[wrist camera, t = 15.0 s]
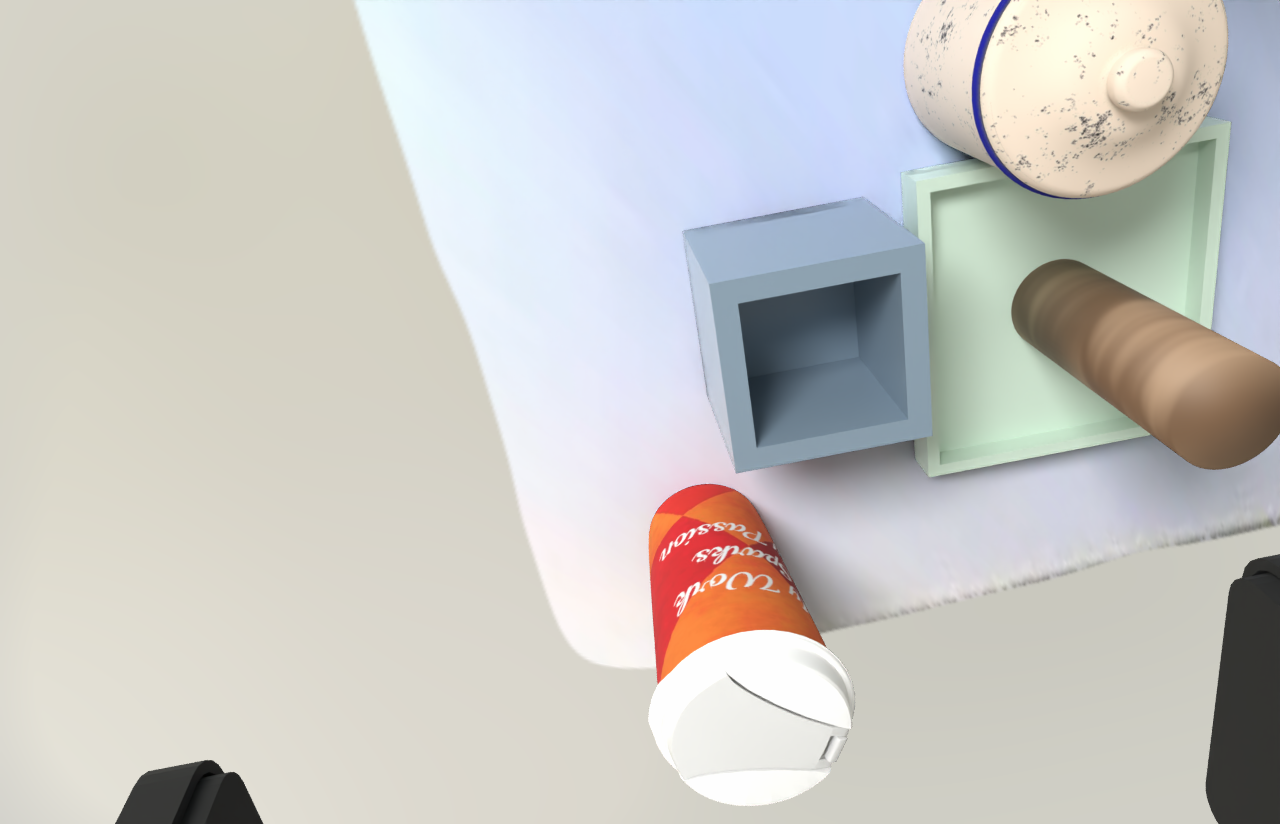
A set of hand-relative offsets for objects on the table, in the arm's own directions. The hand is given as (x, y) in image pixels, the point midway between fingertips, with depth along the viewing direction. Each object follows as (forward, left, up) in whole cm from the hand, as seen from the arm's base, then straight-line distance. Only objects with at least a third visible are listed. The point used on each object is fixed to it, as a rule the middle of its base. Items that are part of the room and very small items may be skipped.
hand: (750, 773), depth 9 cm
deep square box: (+9, +8, -36) cm, 38 cm away
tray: (+12, +21, -36) cm, 43 cm away
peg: (+12, +20, -36) cm, 43 cm away
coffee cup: (+21, +2, -36) cm, 42 cm away
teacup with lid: (-2, +18, -36) cm, 41 cm away
